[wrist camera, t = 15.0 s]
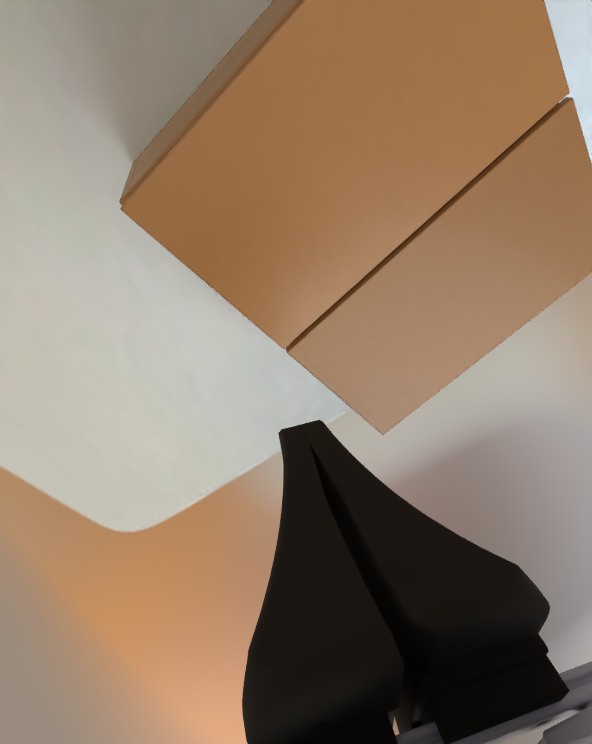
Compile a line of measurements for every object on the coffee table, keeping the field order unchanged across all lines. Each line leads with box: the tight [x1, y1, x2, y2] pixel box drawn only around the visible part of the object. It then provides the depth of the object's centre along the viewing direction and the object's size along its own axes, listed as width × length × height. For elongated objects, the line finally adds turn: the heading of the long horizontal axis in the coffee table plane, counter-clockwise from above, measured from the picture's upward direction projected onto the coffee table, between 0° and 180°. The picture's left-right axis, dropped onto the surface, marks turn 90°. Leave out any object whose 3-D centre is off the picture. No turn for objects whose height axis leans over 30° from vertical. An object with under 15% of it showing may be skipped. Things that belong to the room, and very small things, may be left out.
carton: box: [120, 0, 592, 435], centre depth 17 cm, size 14×12×7 cm
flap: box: [121, 0, 569, 349], centre depth 12 cm, size 7×12×1 cm, turn 131°
